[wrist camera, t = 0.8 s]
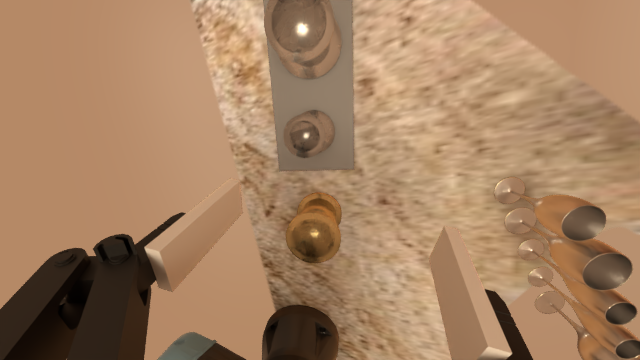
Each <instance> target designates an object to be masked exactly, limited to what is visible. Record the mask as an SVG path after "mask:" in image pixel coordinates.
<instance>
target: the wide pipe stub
mask: <svg viewBox="0 0 640 360" xmlns="http://www.w3.org/2000/svg"><path fill="white" fill-rule="evenodd" d="M264 27H265V32H266V36H267V39H268V41H269V43H270V45H271V46H272V47H273V49H274V50H275V51H276V52H277V53H278V55H279V58H280V60H281V62H282V64H283V65H284V66H285V68H286V69H287V70H288V71H289V72H291V73H292V74H293V75H295V76H297V77H299V78H302V79H316V78H319V77H322V76H324V75H325V74H327V73H328V72H329V71H330V70H331V69H332V68H333V67H334V66H335V64H336V62H337V61H338V58H339V56H340V52H341V45H342V40H341V32H340V29H339V26H338V24H337V22H336V20H335V19H334V13H333V8H332V5H331V3H330V1H329V0H269V2H268V4H267V7H266V10H265V16H264Z"/></svg>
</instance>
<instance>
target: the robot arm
mask: <svg viewBox="0 0 640 360" xmlns="http://www.w3.org/2000/svg"><path fill="white" fill-rule="evenodd" d="M241 200H242V199H241V184H240V180H235V179H231V178H229V179H228V180H227V181H226V182H225V183H223V184H222V185H221V186H220V187H218V188H217V189H216V190H215V191H213V192H212V193H211V194H210V195H208V196H207V197H206V198H205V199H203V200H202V201H201V202H200V203H198V204H197V205H196V206H195V207H194V208H192V209H191V210H190V211H189V212H187V213H179V214H177V215H174V216H172V217H171V218H169V219H168V220H167V221H165V222H164V224H162V225H160V226H159V227H158V228H157V229H155V230H154V231H152V232H151V233H150V234H148V235H147V236H146V237H145V238H143V239H142V240H141V241H139V242H138V243H137V244H135V245H134V242H133V240H132V237H130V236H129V235H125V234H119V235H114V236H110V237H108V238H105V239H103V240H101V241H100V242H99V243H98V244H96V246H95V247H94V248H93V250H94V252H95V254H96V256H88V255H87V253H86V251H85V250H83V249H82V248H72V249H67V250H64V251H62V252H59V253H57V254H55V255H53V256H52V257H50V258H49V259H48V260H47V261H46V262H45V263H44V264H43V265H42V266H41V267H40V268H39V269H38V270H37V272H35V273H34V274H33V275H32V277H31V278H30V279H29V280H28V281H27V282H26V283H25V284H24V285H23V286H22V287H21V288H20V289H19V290H18V291H17V292H16V293H15V294H14V295H13V297H11V299H10V300H9V301H8V302H7V303H6V304H5V305H4V306H3V307H2V308H1V309H0V360H66V359H67V360H144V354H145V344H146V335H147V326H148V317H149V308H150V299H151V285H152V284H153V283H154V282H155V280H156V281H157V284H158V286H159V288H161V289H164V290H167V291H171V292H173V291H174V290H175V289H176V288H177V286H178V285H179V284H180V283H181V282H182V281H183V280H184V279H185V277H186V276H187V275H188V274H189V273H190V272H191V271H192V269H193V268H194V267H195V266H196V265H197V264H198V263H199V262H200V261H201V259H202V258H203V257H204V256H205V255H206V254H207V253H208V251H209V250H210V249H211V248H212V247H213V246H214V245H215V243H216V242H217V241H218V240H219V239H220V238H221V237H222V236H223V235H224V233H225V232H226V231H227V230H228V229H229V228H230V227H231V226H232V224H233V223H234V222H235V221H236V220H237V219H238V218H239V216H240V215H241V214H242V201H241ZM429 262H430V266H431V270H432V275H433V279H434V284H435V288H436V292H437V297H438V301H439V306H440V310H441V315H442V319H443V323H444V328H445V332H446V337H447V341H448V345H449V350H450V354H451V359H452V360H533V358H532V356H531V354H530V352H529V350H528V348H527V346H526V344H525V342H524V340H523V338H522V336H521V334H520V332H519V330H518V328H517V327H516V326H515V325H516V324H515V322H514V320H513V318H512V317H511V314H510V312H509V310H508V308H507V306H506V304H505V302H504V301H503V300H502V299H501V298H500V296H499V295H498V294H497V293H496V292H494V291H490V290H486V289H484V287H483V285H482V283H481V280H480V278H479V276H478V273H477V271H476V269H475V266H474V264H473V262H472V260H471V257H470V255H469V253H468V250H467V248H466V246H465V243H464V241H463V239H462V237H461V234H460V232H459V230H458V229H456V228H451V227H447V226H444V228H443V230H442V232H441V234H440V236H439V239H438V241H437V243H436V245H435V247H434V249H433V251H432V253H431V255H430V257H429ZM216 342H217V341H216V340H213V341H212V340H210V339H208V338H206V337H204V336H202V335H200V334H197V333H195V332H189V333H186V334H184V335H182V336H180V337H179V338H178V339H177V340H176V341H174V342H173V343H172V344H171V345H170V347H168V349H167V350H166V351H165V352H164V353H163V354H162V355H161V356H160V357H159V358H158V359H157V360H246V359H244V358H243V357H241V356H239V355H237V354H235V353H233V352H232V351H230V350H228V349H227V348H225V347H223V346H221V345H219V344H218V343H216ZM338 342H339V337H338V332H337V329H336V327H335V325H334V324H333V322H332V321H331V320H330V319H329V318H328V317H327V316H326V315H325V314H323V313H322V312H320V311H318V310H316V309H313V308H310V307H306V306H289V307H285V308H282V309H280V310H278V311H277V312H275V313H274V314H273V315H272V316H271V317H270V319H269V321H268V323H267V325H266V328H265V331H264V334H263V343H262V360H336V357H337V354H338Z"/></svg>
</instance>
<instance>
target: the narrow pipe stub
mask: <svg viewBox="0 0 640 360" xmlns="http://www.w3.org/2000/svg"><path fill="white" fill-rule="evenodd" d="M334 136H335V127H334V124H333V122H332V120H331V119H330V117H329V116H328V115H326V114H325V113H323V112H321V111H317V110H309V111H306V112H304V113H302V114H301V115H297V116H295V117H293V118H292V119H291V120H289V122H288V123H287V124H286V126H285V129H284V133H283V138H284V143H285V145H286V147H287V149H288V150H289V151H290V152H291V153H292V154H294V155H295V156H297V157H301V158H310V157H313V156H315V155H317V154H318V153H320V152H323V151H325V150H326V149H327V148H328V147H329V146H330V145H331V144H332V142H333V140H334Z"/></svg>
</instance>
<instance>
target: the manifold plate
mask: <svg viewBox="0 0 640 360" xmlns="http://www.w3.org/2000/svg"><path fill="white" fill-rule="evenodd" d="M329 1H330V3H331V5H332V8H333V13H334V19H335V20H336V22H337V24H338V26H339V29H340V32H341V40H342V45H341V52H340V56H339V58H338V61H337V62H336V64H335V66H334V67H333V68H332V69H331V70H330V71H329V72H328V73H327V74H325V75H324V76H322V77H319V78H316V79H302V78H299V77H297V76H295V75H293V74H292V73H291V72H289V71H288V70H287V69H286V68H285V66H284V65H283V64H282V62H281V60H280V58H279V55H278V53H277V52H276V51H275V50H274V49H273V47H272V46H271V45H270V43H269V41H268V39H267V45H268V56H269V66H270V77H271V87H272V98H273V109H274V119H275V130H276V140H277V151H278V161H279V171H309V170H347V169H354V120H353V36H352V0H329ZM268 2H269V0H263V3H264V14H265V10H266V7H267V4H268ZM309 110H317V111H321V112H323V113H325V114H326V115H328V116H329V117H330V119H331V120H332V122H333V124H334V127H335V136H334V140H333V142H332V144H331V145H330V146H329V147H328V148H327V149H326V150H325V151H323V152H320V153H318V154H317V155H315V156H313V157H310V158H301V157H297V156H295V155H294V154H292V153H291V152H290V151H289V150H288V149H287V147H286V145H285V143H284V138H283V133H284V129H285V126H286V124H287V123H288V122H289V120H291V119H292V118H293V117H295V116H297V115H301V114H302V113H304V112H306V111H309Z"/></svg>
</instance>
